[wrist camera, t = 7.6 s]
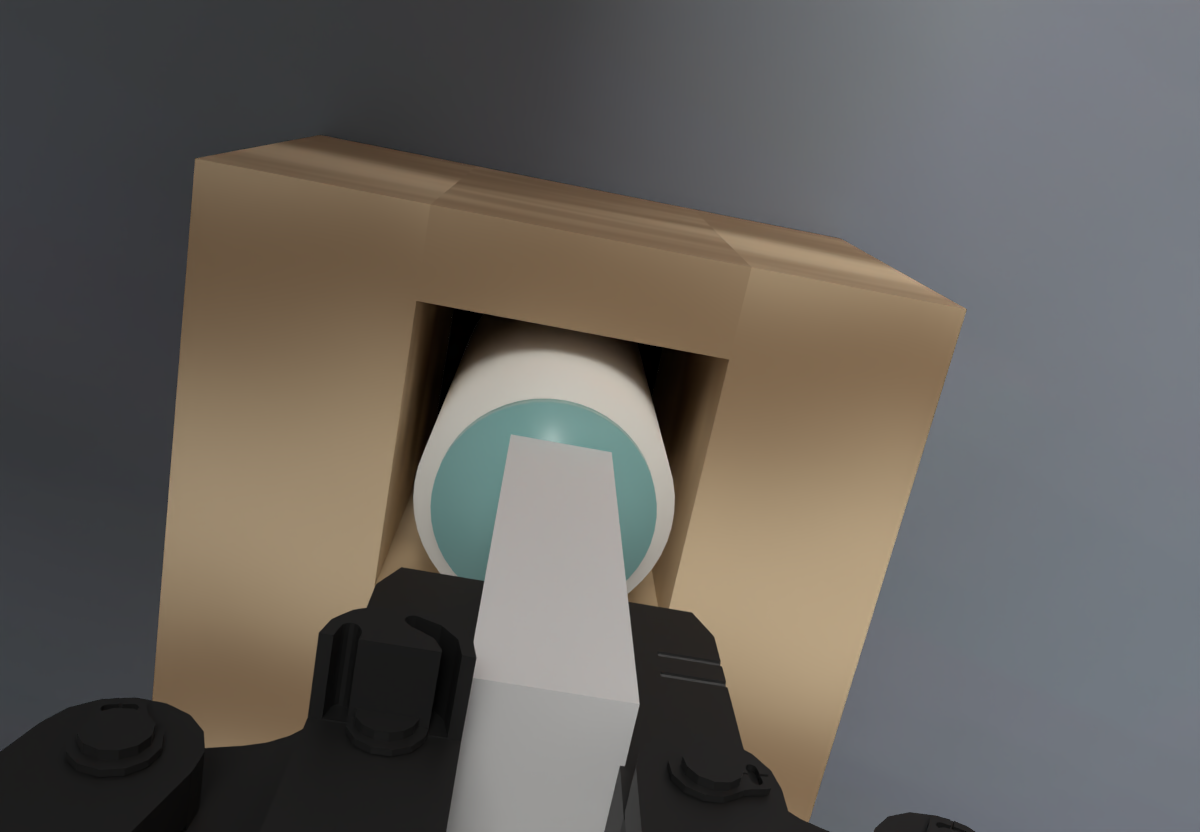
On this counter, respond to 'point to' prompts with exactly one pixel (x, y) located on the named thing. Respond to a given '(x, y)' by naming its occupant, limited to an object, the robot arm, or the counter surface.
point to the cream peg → (541, 438)
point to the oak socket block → (411, 400)
